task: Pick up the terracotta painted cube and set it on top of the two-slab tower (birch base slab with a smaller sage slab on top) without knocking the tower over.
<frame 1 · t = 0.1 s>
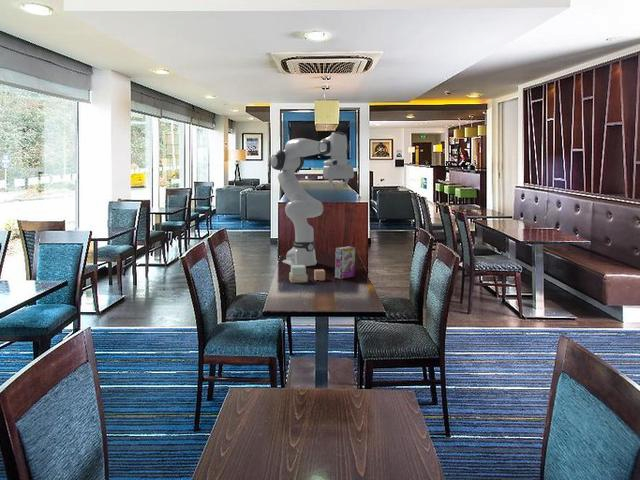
hand: (338, 187, 311), 48 cm above the table, fingers open, 8 cm apart
tower base: (298, 281, 295), on the table
candy bar box: (345, 277, 303), on the table
tower top: (298, 273, 295), point 4 cm above the table
terracotta cube: (319, 279, 298), on the table
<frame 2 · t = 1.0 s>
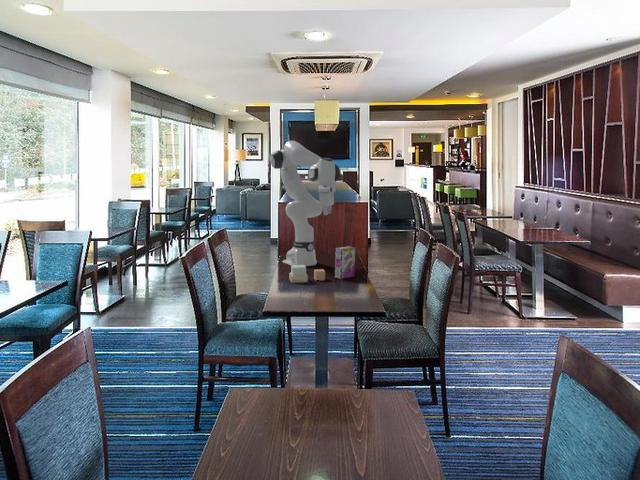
hand: (327, 214, 301), 34 cm above the table, fingers open, 8 cm apart
tower base: (298, 281, 295), on the table, touching tower top
tower top: (298, 273, 295), point 4 cm above the table, touching tower base
everything else where it was.
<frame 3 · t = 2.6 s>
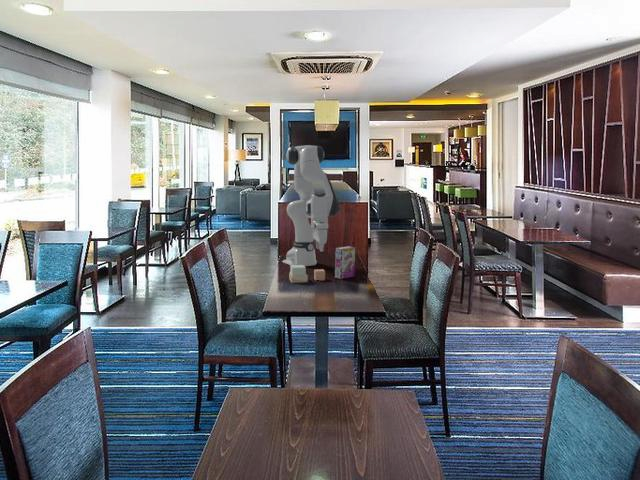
hand: (319, 250, 296), 16 cm above the table, fingers open, 8 cm apart
nothing on the table moved.
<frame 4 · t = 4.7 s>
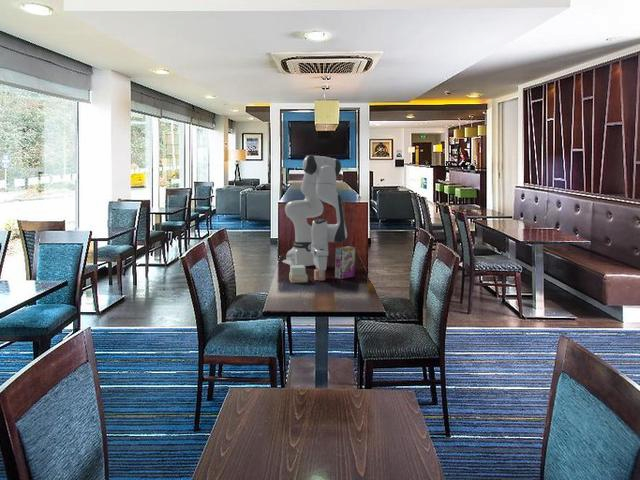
hand: (319, 275, 298), 2 cm above the table, fingers closed on terracotta cube, 5 cm apart
terracotta cube: (319, 279, 298), on the table, touching gripper
everything else where it was.
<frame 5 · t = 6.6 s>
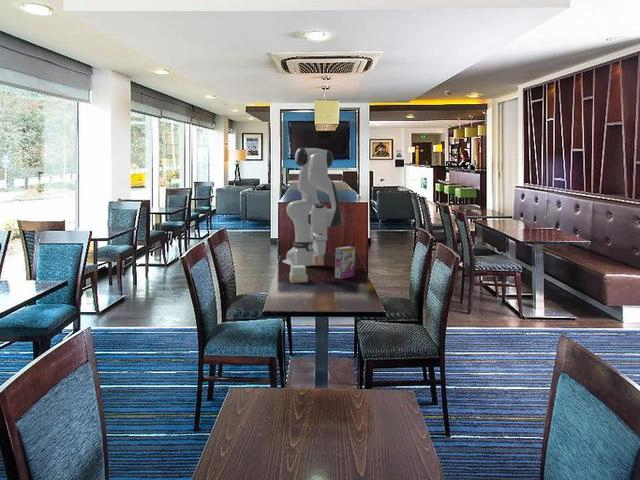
hand: (318, 260, 297), 10 cm above the table, fingers closed on terracotta cube, 5 cm apart
terracotta cube: (318, 264, 297), point 8 cm above the table, touching gripper
everything else where it was.
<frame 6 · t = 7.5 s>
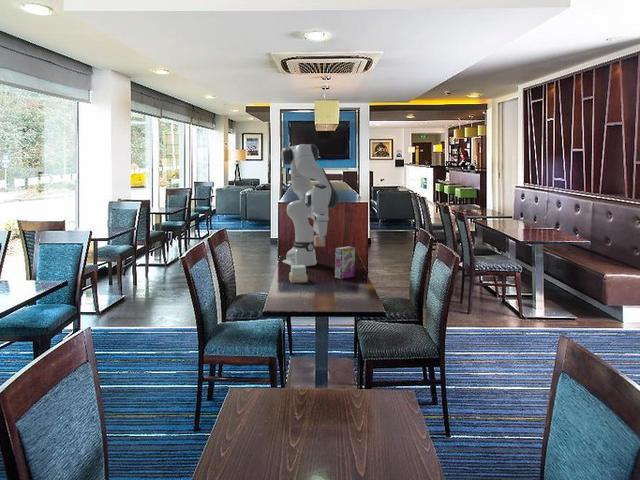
hand: (319, 241, 296), 20 cm above the table, fingers closed on terracotta cube, 5 cm apart
terracotta cube: (319, 245, 296), point 18 cm above the table, touching gripper
everything else where it was.
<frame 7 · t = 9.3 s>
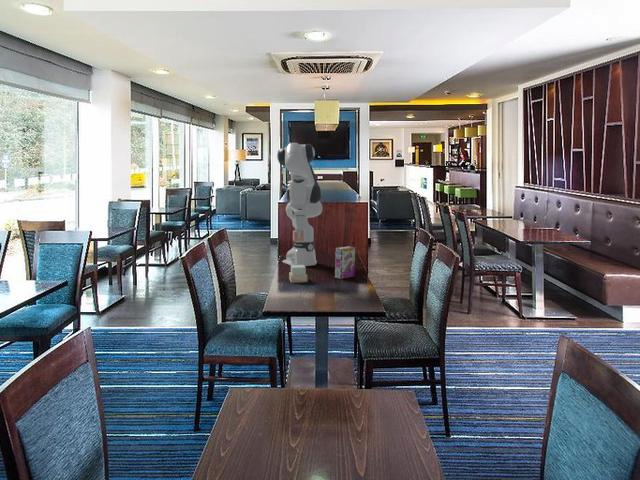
hand: (298, 236, 292), 23 cm above the table, fingers closed on terracotta cube, 5 cm apart
terracotta cube: (298, 240, 292), point 21 cm above the table, touching gripper
everything else where it was.
when the fingers open (11 cm above the table, at t = 13.3 s): terracotta cube drops 2 cm, resting on tower top.
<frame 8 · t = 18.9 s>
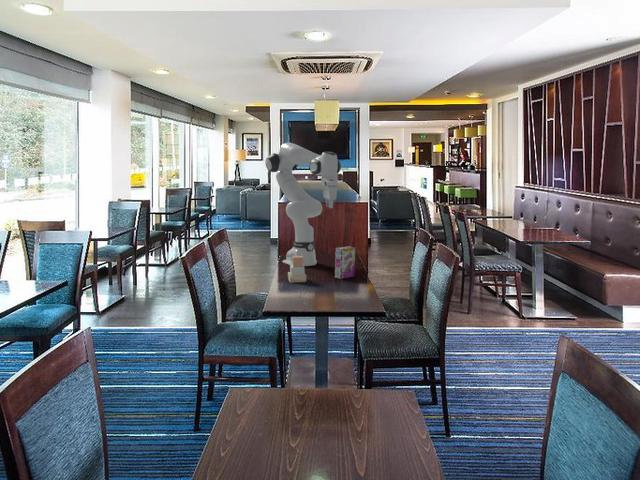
hand: (329, 207, 306), 37 cm above the table, fingers open, 8 cm apart
tower top: (297, 273, 295), point 4 cm above the table, touching terracotta cube, tower base
terracotta cube: (297, 266, 294), point 8 cm above the table, touching tower top
everything else where it was.
at the end: terracotta cube touching tower top; terracotta cube 0.5 cm off-centre on the tower base, point 8.0 cm above the tower base's base; tower top 0.2 cm from the tower base (horizontally) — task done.
